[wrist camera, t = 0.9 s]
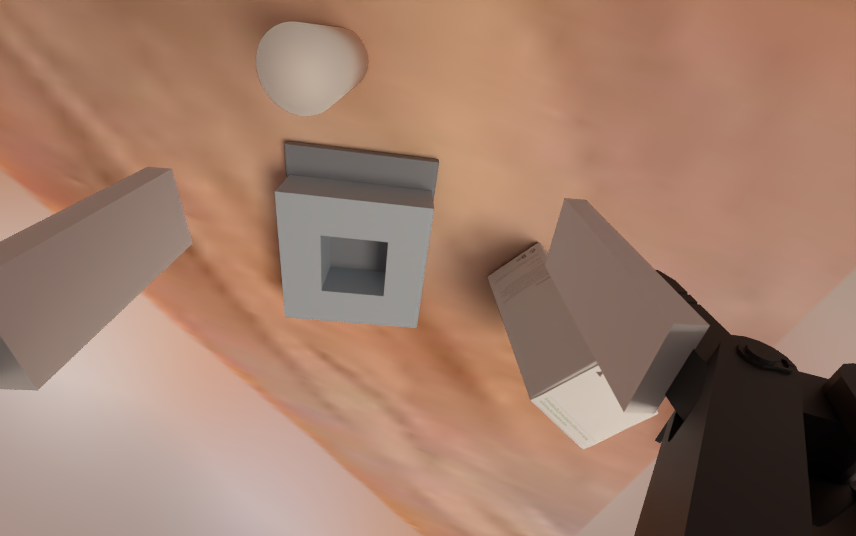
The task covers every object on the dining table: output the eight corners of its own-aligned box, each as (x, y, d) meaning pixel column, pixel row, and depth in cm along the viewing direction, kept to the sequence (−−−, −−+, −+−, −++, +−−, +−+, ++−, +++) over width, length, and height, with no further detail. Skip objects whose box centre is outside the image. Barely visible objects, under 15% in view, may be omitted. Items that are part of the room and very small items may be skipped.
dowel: (313, 23, 27) (251, 14, 17) (369, 31, 27) (342, 28, 17) (314, 84, 29) (260, 110, 19) (367, 91, 29) (341, 121, 19)
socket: (288, 141, 31) (268, 157, 27) (438, 159, 32) (442, 177, 28) (298, 305, 40) (284, 337, 36) (416, 315, 41) (416, 347, 37)
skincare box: (485, 274, 39) (522, 399, 25) (541, 237, 37) (614, 351, 23) (528, 323, 42) (580, 455, 29) (581, 291, 40) (664, 418, 27)
